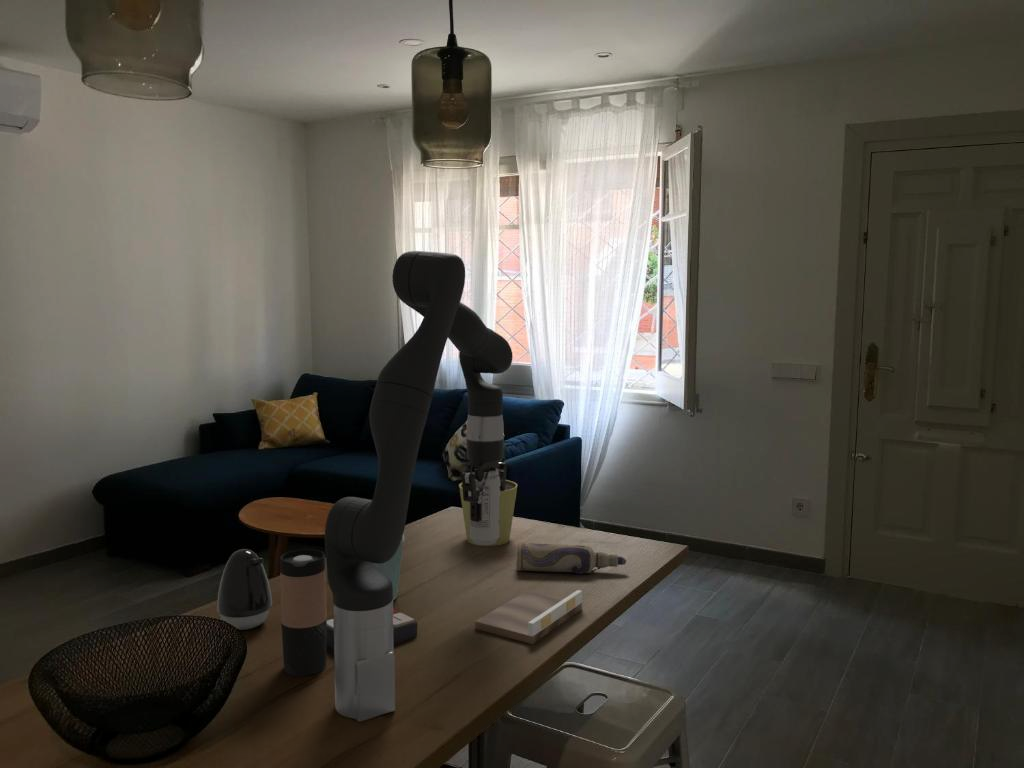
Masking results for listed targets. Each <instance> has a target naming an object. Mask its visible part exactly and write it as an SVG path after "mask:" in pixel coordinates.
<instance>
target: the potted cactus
mask: <svg viewBox="0 0 1024 768" xmlns="http://www.w3.org/2000/svg"><path fill="white" fill-rule="evenodd" d="M506 448H508V447H507V446H504V451H503V459H502V460H500V461H498V462H502V463H506V464H508V463H507V462H508V461H507V460H506V455H507V453H505V451H506V450H505V449H506ZM500 485H501V480H500ZM458 487H459V494H460V500H461V507H462V514H463V520H464V527H465V535H466V540H467V542H468V543H469V544H471V545H476V546H482V547H495V546H501V545H505V544H506V543H508V542H509V541H510V538H511V532H512V531H511V530H512V525H513V517H514V511H515V503H516V499H517V493H518V492H517V491H518V483H516V482H515V481H513V480H512V481H511V480H509V479H506V484H505V491H501V494H500V496H499V538H498V539H497V541H496V543H494V544H490V545H479V544H475V543H473V540H472V539H471V538H470V502H467V501H464V500H463V488H462V482H461V483H459V484H458ZM469 494H470V491H468V495H469Z"/></svg>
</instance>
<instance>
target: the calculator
mask: <svg viewBox="0 0 1024 768" xmlns="http://www.w3.org/2000/svg"><path fill="white" fill-rule="evenodd" d="M333 620H334V619H333V618H331V619H327V636H326V647H329V648H330V647H331V648H330V649H332V650H334V624H333ZM417 636H418V621H416V620H415V619H414V618H413V617H410V616H408V615H407V614H406V613H405V614H404V613H402V612H399V611H398V610H396V609H395V608H393V645H395V644H398V643H402V642H405V641H406V640H410V639H412V638H416V637H417Z"/></svg>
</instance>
